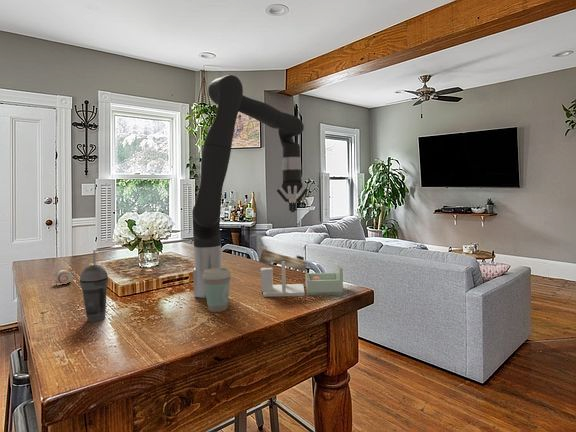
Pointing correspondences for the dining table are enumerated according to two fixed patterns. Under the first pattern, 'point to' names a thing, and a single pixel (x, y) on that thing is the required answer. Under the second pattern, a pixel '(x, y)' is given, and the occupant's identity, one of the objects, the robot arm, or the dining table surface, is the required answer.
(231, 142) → the robot arm
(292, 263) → the lever trough
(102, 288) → the beverage cup
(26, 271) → the dining table surface
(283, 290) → the stand
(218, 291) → the coffee cup
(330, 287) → the cup
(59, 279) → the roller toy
